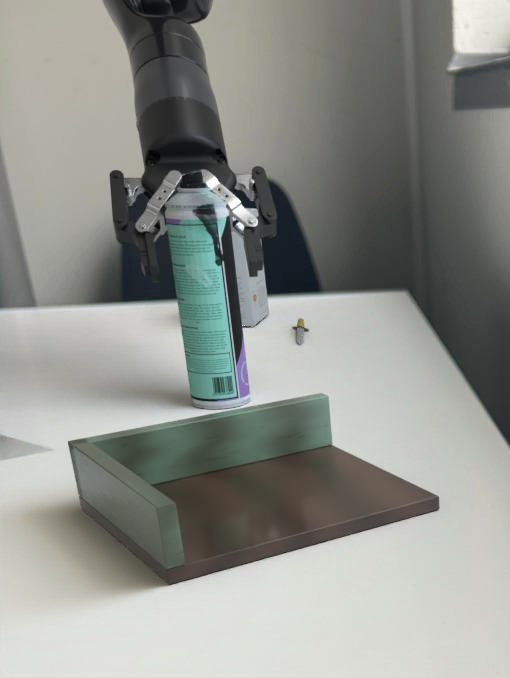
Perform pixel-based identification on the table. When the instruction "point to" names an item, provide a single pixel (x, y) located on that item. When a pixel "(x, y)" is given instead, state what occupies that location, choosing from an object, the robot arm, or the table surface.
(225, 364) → the spray can
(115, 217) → the robot arm
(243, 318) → the small box
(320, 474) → the corner board
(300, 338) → the dagger
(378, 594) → the table surface
